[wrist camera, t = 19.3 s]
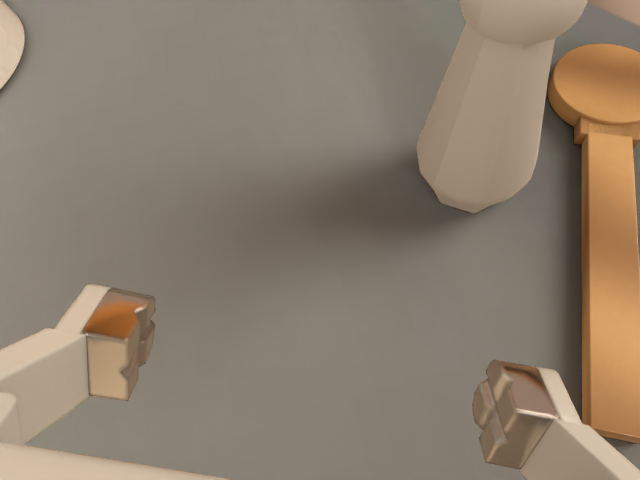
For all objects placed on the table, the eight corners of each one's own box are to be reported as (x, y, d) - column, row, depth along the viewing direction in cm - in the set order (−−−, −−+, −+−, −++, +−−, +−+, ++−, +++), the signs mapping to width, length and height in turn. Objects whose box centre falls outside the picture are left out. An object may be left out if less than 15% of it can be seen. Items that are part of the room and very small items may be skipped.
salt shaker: (408, 141, 30) (431, -99, 18) (511, 133, 29) (600, -116, 18) (420, 230, 27) (457, 13, 15) (534, 223, 26) (658, -5, 15)
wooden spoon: (690, 455, 21) (707, 451, 20) (533, 421, 22) (541, 416, 21) (654, 64, 31) (664, 48, 30) (548, 54, 32) (554, 38, 31)
